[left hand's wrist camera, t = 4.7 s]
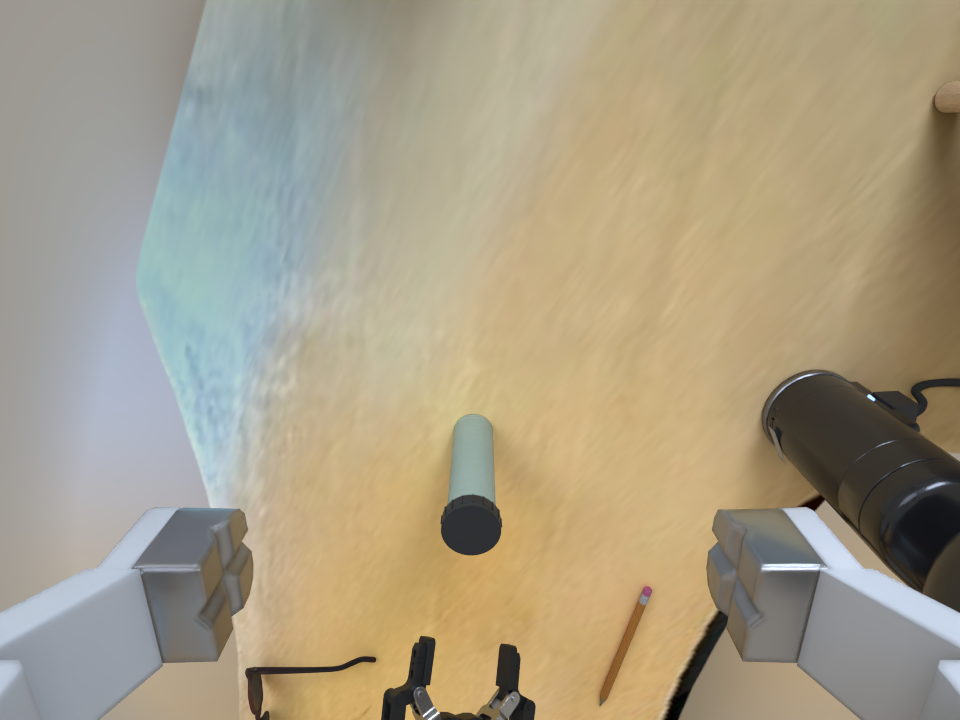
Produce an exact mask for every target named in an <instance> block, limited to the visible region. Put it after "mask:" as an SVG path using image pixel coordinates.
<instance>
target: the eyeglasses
mask: <svg viewBox="0 0 960 720" xmlns="http://www.w3.org/2000/svg"><path fill="white" fill-rule="evenodd" d="M360 662H376V658H375V657H366V656H364V657H359V658H356V659H354V660H351V661H349V662H347V663H345V664H343V665H340V666H333V667H252V668H247V669H246V671H245V674H246V677H247V679H248V699H249V705H250V709H251V711H252V713H253V714H254V715H255V718H256V720H269V712H268V711H265V713H264V715H263V716H262V717H261V718H260V715H261V706H262V701H263V688H262V679H261V675H260V674H292V673H317V672H334V671H340V670H344V669H346V668H348V667H351V666H353V665H355V664H358V663H360Z"/></svg>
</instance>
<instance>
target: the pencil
mask: <svg viewBox="0 0 960 720" xmlns="http://www.w3.org/2000/svg"><path fill="white" fill-rule="evenodd" d="M651 592H652V589H651V588H650V587H644V590H643V592H642V594H641V597H640V599H639V602H638V604H637V607H636V609H635V612H634V614H633V617H632V619H631V621H630V624H629V626H628V629H627V631H626V634H625V636H624V639H623V641H622V643H621V646H620V648H619V651H618V653H617V656H616V658H615V660H614V663H613V665H612V668H611V670H610V673H609V675H608V678H607V680H606V682H605V685H604V687H603V690H602V692H601V695H600V706H601V705H602V704H603V703H604V702H605V701H606V699H607V698H608V695H609V693H610V690H611V688H612V686H613V683H614V681H615V678H616V676H617V674H618V671H619V669H620V666H621V664H622V662H623V659H624V657H625V654H626V652H627V650H628V647H629V645H630V642H631V640H632V638H633V635H634V633H635V630H636V628H637V626H638V623H639V621H640V618H641V616H642V614H643V611H644V609H645V606H646V604H647V602H648V600H649V598H650V595H651Z"/></svg>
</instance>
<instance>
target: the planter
mask: <svg viewBox="0 0 960 720" xmlns="http://www.w3.org/2000/svg"><path fill="white" fill-rule="evenodd" d="M935 105H936V108H937V109H938V110H939V111H941V112H943V113H960V81H951V82H948V83H946V84H944V85H943V86H942V87H941V88H940V89H939V90H938V92H937V94H936V97H935Z"/></svg>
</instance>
